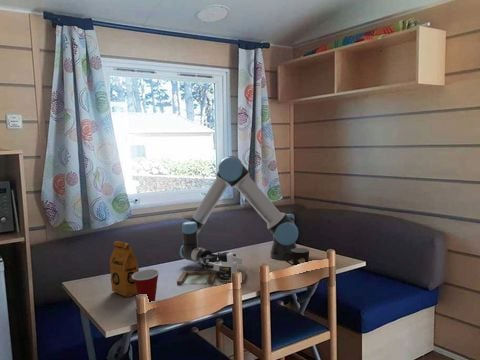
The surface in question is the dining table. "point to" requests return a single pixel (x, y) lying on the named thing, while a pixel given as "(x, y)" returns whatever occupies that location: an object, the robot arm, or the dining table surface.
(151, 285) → the plastic cup
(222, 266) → the medicine bottle
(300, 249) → the coffee mug
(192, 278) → the wooden tray frame
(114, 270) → the coffee package
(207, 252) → the robot arm
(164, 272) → the dining table surface
